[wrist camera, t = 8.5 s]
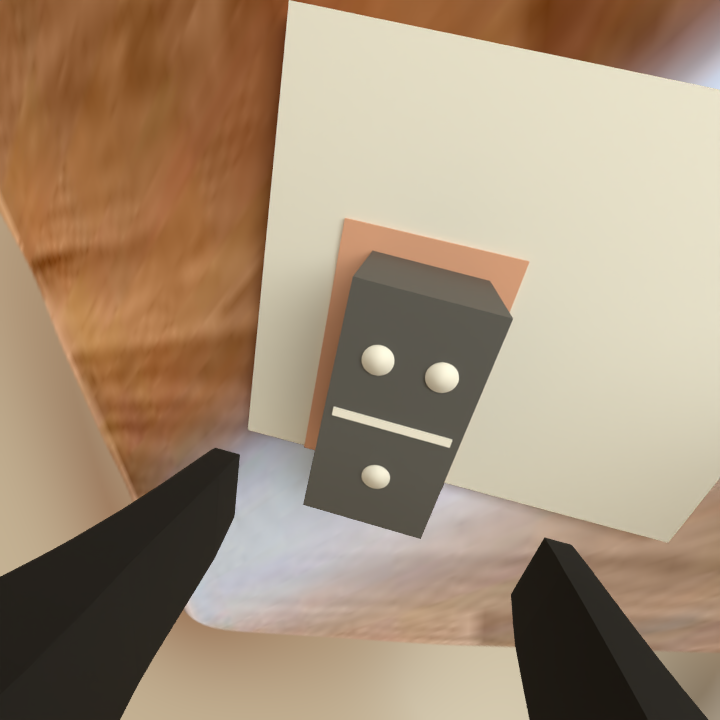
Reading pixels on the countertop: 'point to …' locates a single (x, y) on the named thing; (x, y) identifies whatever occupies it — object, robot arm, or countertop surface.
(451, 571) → the countertop surface
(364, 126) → the cream mat
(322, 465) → the domino block
